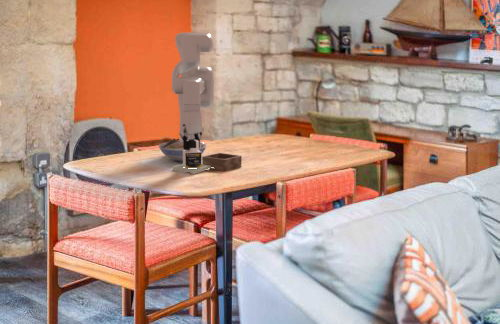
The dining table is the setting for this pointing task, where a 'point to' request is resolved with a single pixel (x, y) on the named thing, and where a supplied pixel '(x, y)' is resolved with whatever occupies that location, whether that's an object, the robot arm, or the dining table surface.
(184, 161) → the medicine bottle
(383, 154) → the dining table surface
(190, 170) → the tray
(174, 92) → the robot arm
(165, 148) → the ramen bowl
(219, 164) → the holder
